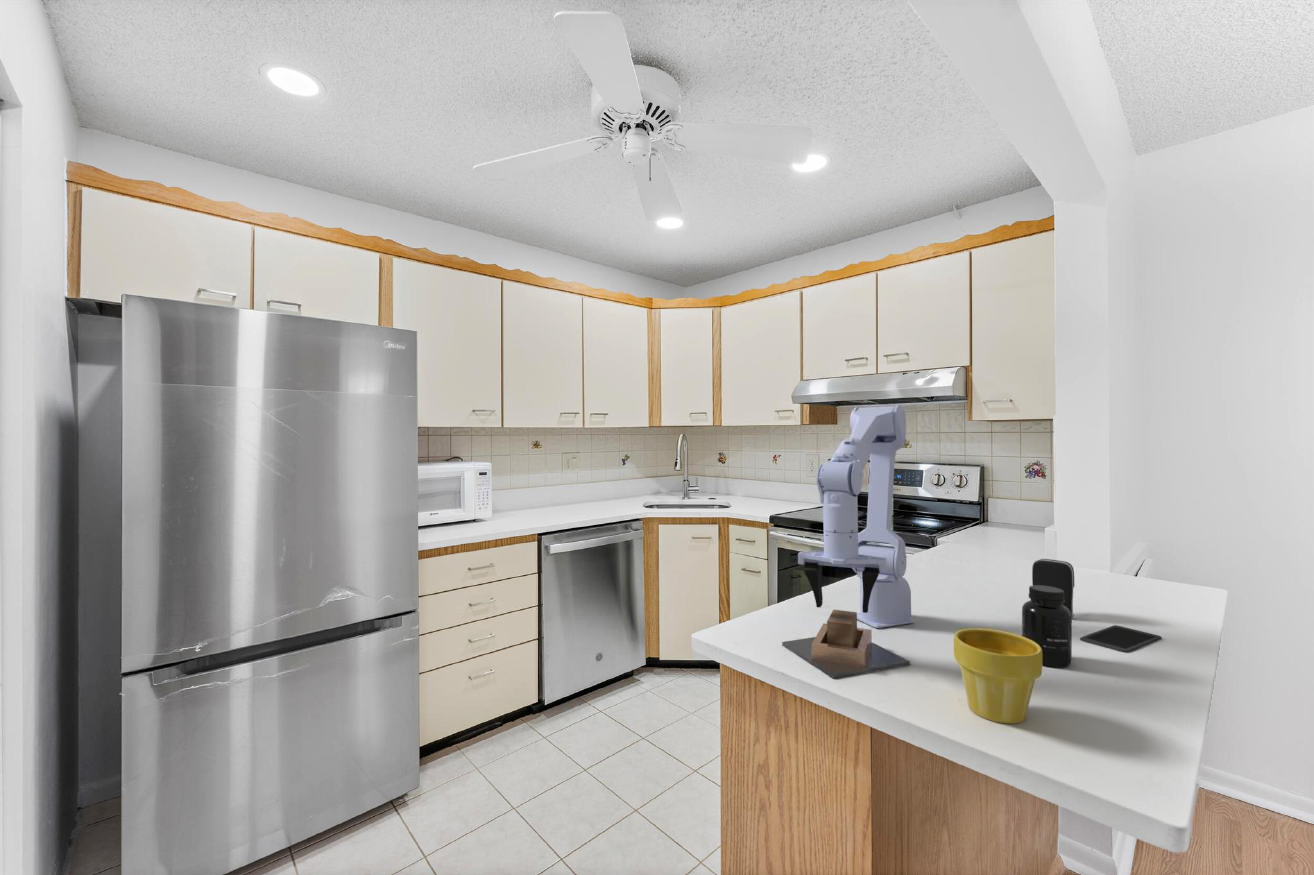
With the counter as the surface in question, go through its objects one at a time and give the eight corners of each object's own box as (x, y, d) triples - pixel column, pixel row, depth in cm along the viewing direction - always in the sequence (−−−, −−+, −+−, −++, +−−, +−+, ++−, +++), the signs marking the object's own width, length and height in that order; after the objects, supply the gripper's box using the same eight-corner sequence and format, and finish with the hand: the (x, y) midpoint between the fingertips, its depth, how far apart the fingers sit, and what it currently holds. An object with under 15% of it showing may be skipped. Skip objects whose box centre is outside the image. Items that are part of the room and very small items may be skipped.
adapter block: (827, 656, 94) (826, 621, 94) (834, 642, 100) (833, 609, 100) (852, 660, 92) (851, 624, 92) (857, 645, 98) (856, 612, 98)
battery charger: (1076, 616, 114) (1075, 561, 114) (1072, 620, 111) (1071, 564, 111) (1036, 609, 119) (1035, 556, 119) (1031, 613, 116) (1030, 558, 116)
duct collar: (850, 634, 105) (850, 618, 105) (909, 664, 91) (909, 646, 91) (782, 645, 101) (781, 628, 101) (833, 678, 86) (832, 659, 86)
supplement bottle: (1058, 672, 87) (1056, 596, 87) (1013, 657, 94) (1012, 586, 94) (1081, 663, 91) (1079, 590, 91) (1036, 649, 97) (1035, 581, 97)
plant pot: (1058, 716, 74) (1056, 643, 74) (1021, 740, 68) (1019, 661, 68) (978, 687, 82) (977, 622, 82) (939, 707, 77) (938, 637, 77)
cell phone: (1163, 640, 101) (1163, 636, 101) (1127, 655, 94) (1126, 651, 94) (1115, 628, 107) (1115, 624, 107) (1077, 641, 101) (1077, 637, 101)
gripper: (793, 531, 96) (795, 609, 96) (883, 537, 89) (885, 620, 89) (802, 525, 102) (803, 598, 102) (886, 530, 95) (888, 608, 95)
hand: (842, 608), depth 96 cm, fingers open, 7 cm apart
